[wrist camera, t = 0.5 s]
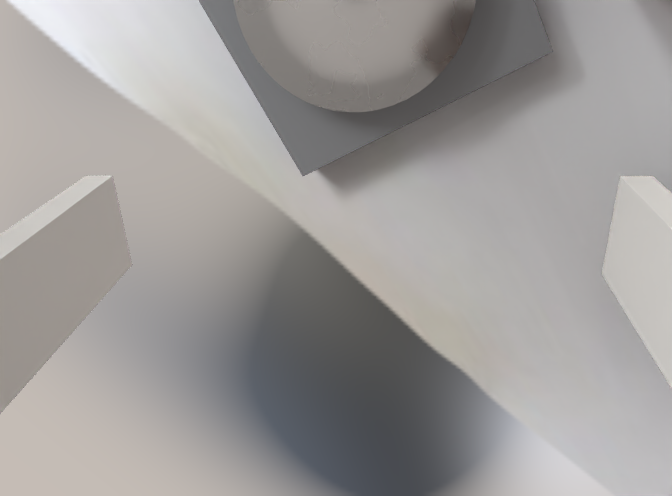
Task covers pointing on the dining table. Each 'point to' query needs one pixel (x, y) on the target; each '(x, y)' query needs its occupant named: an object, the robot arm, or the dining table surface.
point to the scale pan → (354, 47)
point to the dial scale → (365, 127)
